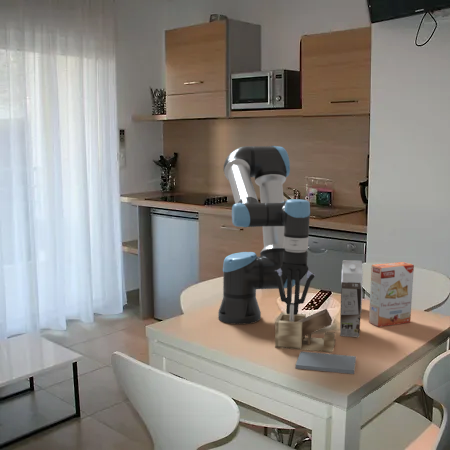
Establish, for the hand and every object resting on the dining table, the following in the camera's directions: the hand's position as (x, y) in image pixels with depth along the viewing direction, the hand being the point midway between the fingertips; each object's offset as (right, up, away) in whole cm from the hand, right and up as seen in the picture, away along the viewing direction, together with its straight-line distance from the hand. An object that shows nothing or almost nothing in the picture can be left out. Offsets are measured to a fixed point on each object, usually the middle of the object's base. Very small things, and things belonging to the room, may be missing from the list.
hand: (291, 324), depth 185 cm
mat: (+8, -9, -16) cm, 20 cm away
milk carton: (+26, -1, +36) cm, 45 cm away
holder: (+4, -6, 0) cm, 8 cm away
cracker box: (+37, -3, +21) cm, 42 cm away
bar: (+6, -2, -1) cm, 6 cm away
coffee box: (+20, -5, +11) cm, 24 cm away
